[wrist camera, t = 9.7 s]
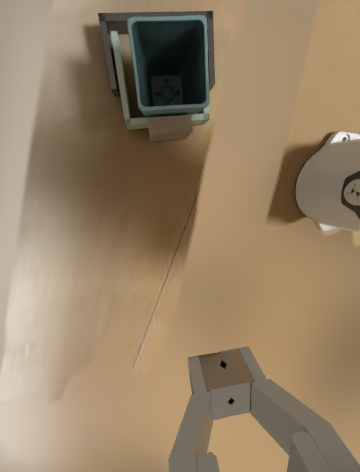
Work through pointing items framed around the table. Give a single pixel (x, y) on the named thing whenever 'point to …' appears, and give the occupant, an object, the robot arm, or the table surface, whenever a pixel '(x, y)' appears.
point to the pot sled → (157, 126)
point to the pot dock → (120, 25)
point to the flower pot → (170, 64)
